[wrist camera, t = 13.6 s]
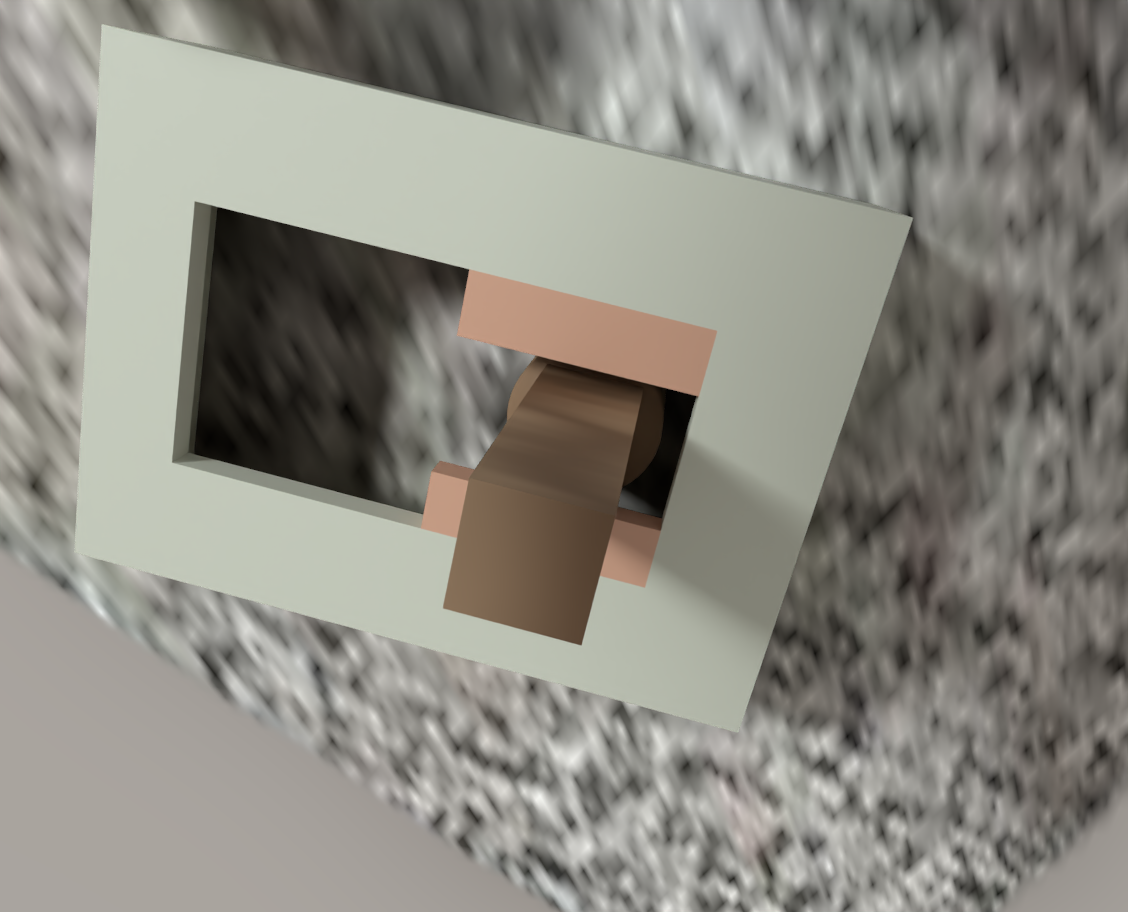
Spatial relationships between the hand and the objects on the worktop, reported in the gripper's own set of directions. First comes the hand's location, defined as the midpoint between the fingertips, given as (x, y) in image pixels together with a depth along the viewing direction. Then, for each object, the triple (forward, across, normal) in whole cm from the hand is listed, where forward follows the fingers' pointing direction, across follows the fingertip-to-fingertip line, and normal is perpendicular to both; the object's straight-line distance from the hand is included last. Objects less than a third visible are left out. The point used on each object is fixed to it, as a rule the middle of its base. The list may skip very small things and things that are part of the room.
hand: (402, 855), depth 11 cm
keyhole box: (+22, -4, 0) cm, 23 cm away
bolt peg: (+22, 0, 0) cm, 23 cm away
